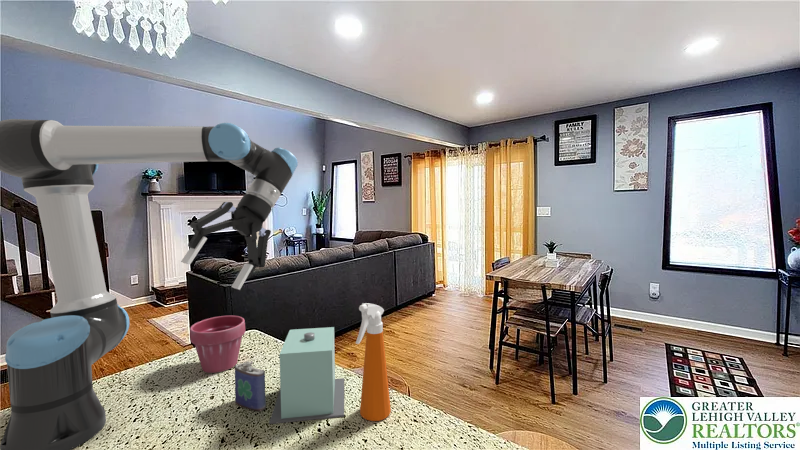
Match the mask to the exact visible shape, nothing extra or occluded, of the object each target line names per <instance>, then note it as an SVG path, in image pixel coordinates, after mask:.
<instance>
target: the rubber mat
mask: <svg viewBox="0 0 800 450" xmlns="http://www.w3.org/2000/svg"><path fill="white" fill-rule="evenodd" d="M342 417H345V378H335V391H334V410H333V414H323V415H313V416H303V417H293V418H283V419H281V389H279V393H278V396H277V397H276V401H275V404H274V407H273V410H272V413H271V415H270V419H269V421H268V425H273V424H274V425H275V424H285V423H286V424H287V423H295V422H301V421H315V420H322V419H333V418H342Z"/></svg>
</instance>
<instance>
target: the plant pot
mask: <svg viewBox="0 0 800 450" xmlns="http://www.w3.org/2000/svg"><path fill="white" fill-rule="evenodd" d="M245 333H246V322H245V318H244V317H242V316H239V315H221V316H220V315H219V316H213V317H210V318H209V317H208V318H205V319H202V320H201V321H197V322H195V323H194V324H192V325H191V326H190V328H189V337H190V338H189V339H190V343H191V344H193V345H194V347H195V350H196V353H197V357H198V359H199V362H200V366H201V369H202V371H203V372H204V373H206V374H215V373H221V372H225V371H227V370H228V371H229V370H231V369H232V368H235V366H236V365H237V364H238V360H239V354H240V350H241V344H242V339H243V336H244V334H245Z"/></svg>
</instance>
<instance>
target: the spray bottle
mask: <svg viewBox="0 0 800 450" xmlns="http://www.w3.org/2000/svg"><path fill="white" fill-rule="evenodd" d="M358 310H359V311H360V312H361V324H360V328H359V331H358V335H357V338H356V341H355V344H356V345H359V344H360V343H361V342H362V339H363V338H364V336H365V348H364V349H365V350H364V361H363V372H362V373H363V374H362V382H361V383H362V384H361V397H360V407H359V414H360V416H361V417H362V418H363V419H365V420H366V421H369V422H370V421H371V422H380V421H383V420H385V419H386V418H388V417H389V416H390V414H391V412H392V409H391V399H390V398H391V397H390V388H389V380H388V378H389V377H388V371H387V370H388V369H387V368H388V367H387V359H386V349H385V340H384V330H383V327H384V326H383V325H384V323H383V321H382V315H383V314H384V312H385V309H384V308H383V306H380V305H377V304H376V303H375V304H374V303H369V302H368V303H367V302H365V303H364V302H362V303H361V305H359V307H358ZM365 333H366V335H365Z"/></svg>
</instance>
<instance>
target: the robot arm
mask: <svg viewBox="0 0 800 450" xmlns="http://www.w3.org/2000/svg"><path fill="white" fill-rule="evenodd" d="M189 162H191V163H193V162H195V163H196V162H228V163H231V164H232V165H235V166H236V167H239V168H240V169H242V170H244V171H246V172H248V173H250V174H251V175H253V176H255V177H254V179H253V180H252V182H251V184H250V185H249V187H248V188H247V189H246V191H245V192H246V193H245V194H243V196H242V197H241V199H240V200H239V201H238V204H237V205H236V207H235V206H234V203H233V202H231V201H224V202H222V203H221V204H220V206H219V207H218V208H216V209H214V210H212V211H211V212H209V213H207V214H205V215H204V216H201V217H200V218H198V219H196V220H195V221H194V220H193V221H192V222H191V223H190V224H189V226H190V228H192V229H193V234H194V235H193V236H192V237H191V239H190V241H189V242H188V244H187V247H188V248H189V249H188V251H187V252H186V253H185V255H184V257H183V258H182V259H181V261H180V262H181V263H183V264H186V265H191V264H192V263H193V261H194V259H195V258H196V257H197V255H198V253H199V252H200V250H201V249H202V248H203V246H204V244H205V243H206V242H207V240H208V238H207V237H206V236H208V235H210V234H213V233H216V232H219V231H222V230H224V229H225V230H226V229H229V228H231V227H232V230H234V231H236V232H238V233H239V234H240V235H242V236H244V239H245V241H246V250H247V259H248V260H247V261H248V263H244V265H243V266H242V268H241V270H240V271H239V273H238V275H237V277H236V278H235V279H234V281H233V283H232V284H231V288H233V289H235V290H239V291H241V289H242V287H243V285H244V283H245V282H246V280H247V279H249V278H251V277H252V274H253V273H254V271H255V269H256V268H265V265H266V258H267V251H268V243H269V238H270V235H271V233H272V231H271V230H270V229H266V228H264V227H263V223H264V222H265V221H267V219H268V217H269V216H270V213H271V212H272V210H273V209H272V208H274V206H275V205H276V204H277V202H278V200H279V198H280V197H281V195H282V193H283V192H284V190H285V188H286V187H287V185H288V183H289V182H290V180H291V179H292V177H293V175H294V173H295V171H296V169H297V167H298V163H299V162H298V159H297V157H296V155H295V154H293V153H292V152H291V151H290V150H288V149H286V148H282V147H275V148H273V149H272V150H271V151H270V150H269V149H267V148H264V147H263V146H260V144H258V143H256V142H254V141H252V139H251V138H250V136H249V135H248V133H247V132H246V131H245V130H244V129H243V128H242V127H240V126H238V125H236V124H235V123H231V122H222V123H219V124H216V125H213V126H198V125H197V126H192V125H191V126H186V125H185V126H184V125H183V126H182V125H181V126H175V125H172V126H171V125H163V126H162V125H161V126H159V125H158V126H156V125H153V126H151V125H148V126H147V125H63V124H62V123H61V122H60V121H57V120H54V119H49V120H48V119H28V118H27V119H24V118H23V119H22V118H20V119H19V118H10V119H9V118H8V119H4V120H0V172H1V173H4V174H7V175H9V176H12V177H15V178H16V177H17V178H21V183H22V187H23V191H24V192H25V193H28V194H29V195H31V196H33V197H34V198H35V201H36V206H37V210H38V215H39V219H40V223H41V224H40V225H41V228H42V229H41V230H42V233H43V237H44V243H45V247H46V253H47V256H48V261H49V267H50V271H51V275H52V281H53V285H54V289H55V294H56V298H57V303H55V305H54V306H53V307H52V308H51V309H50V310H49V312H50V318H49V317H48V318H45V319H42V320H41V321H38V322H37V321H36V322H32V323H30V324H28V325H25V326H24V327H21V328H19V329H17V330H16V331H15V332H14V333H12V334H11V335H10V336H9V338H8V339H7V341H6V350H5V351H6V352H5V355H4V356H5V357H4V358H5V359H4V361H5V362H6V369H7V376H8V377H7V378H8V388H9V389H8V390H9V400H10V402H9V403H10V411H11V413H10V416H9V418H8V422H7V425H6V428H5V430H4V433H3V437H2V439H1V442H0V450H73V449H74V448H76V447H78V446H80V445H83V444H84V443H86V442H87V441H89V440H91V439H92V438H93V437H94V436H96V435H97V434H98V433H100V431H101V430H102V429H103V428H104V426H105V425H106V422H107V417H106V416H107V415H106V409H105V407H104V405H102V403H101V400H100V399H99V397H98V396H97V393H96V392H95V389H94V388H93V387H94V386H93V385H94V384H93V369H92V365H93V364H94V363H95V364H96V362H97V361H99V360H100V359H102V357H104V356H105V355H106V354H107V353H109V352H111V351H112V350H114V349H115V348H116V347H117V346H118V345H119V344H121V342H122V340H123V339H124V338H125V337H126V335H127V334H128V331H129V328H130V316H129V314H128V312H127V311H126V310H125V309H124V307H121V306H120V305H119V304H118V301H117V300H118V299H117V297H116V295H114V294H112V293H110V292H109V291H108V290H107V287H106V282H105V281H106V280H105V275H104V272H103V271H104V270H103V267H102V266H103V265H102V261H101V257H100V252H99V250H100V249H99V245H98V241H97V237H96V236H97V235H96V231H95V226H94V221H93V216H92V211H91V206H90V205H91V204H90V200H89V197H88V196H89V193H90V192H91V191H92V190H93V189H94V188H95V183H94V176H95V173H97V172H98V170H99V165H111V164H115V165H117V164H146V163H147V164H149V163H150V164H153V163H154V164H155V163H189ZM227 213H230V216H231V217H230V218H229V219H227V220H223V221H221V222H217V223H214V224H211V225H208V224H210V223H211V222H213V221H215V220H216V219H219V218H220V217H222V216H223V215H225V214H227ZM206 225H208V226H206ZM204 226H205V227H204Z"/></svg>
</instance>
